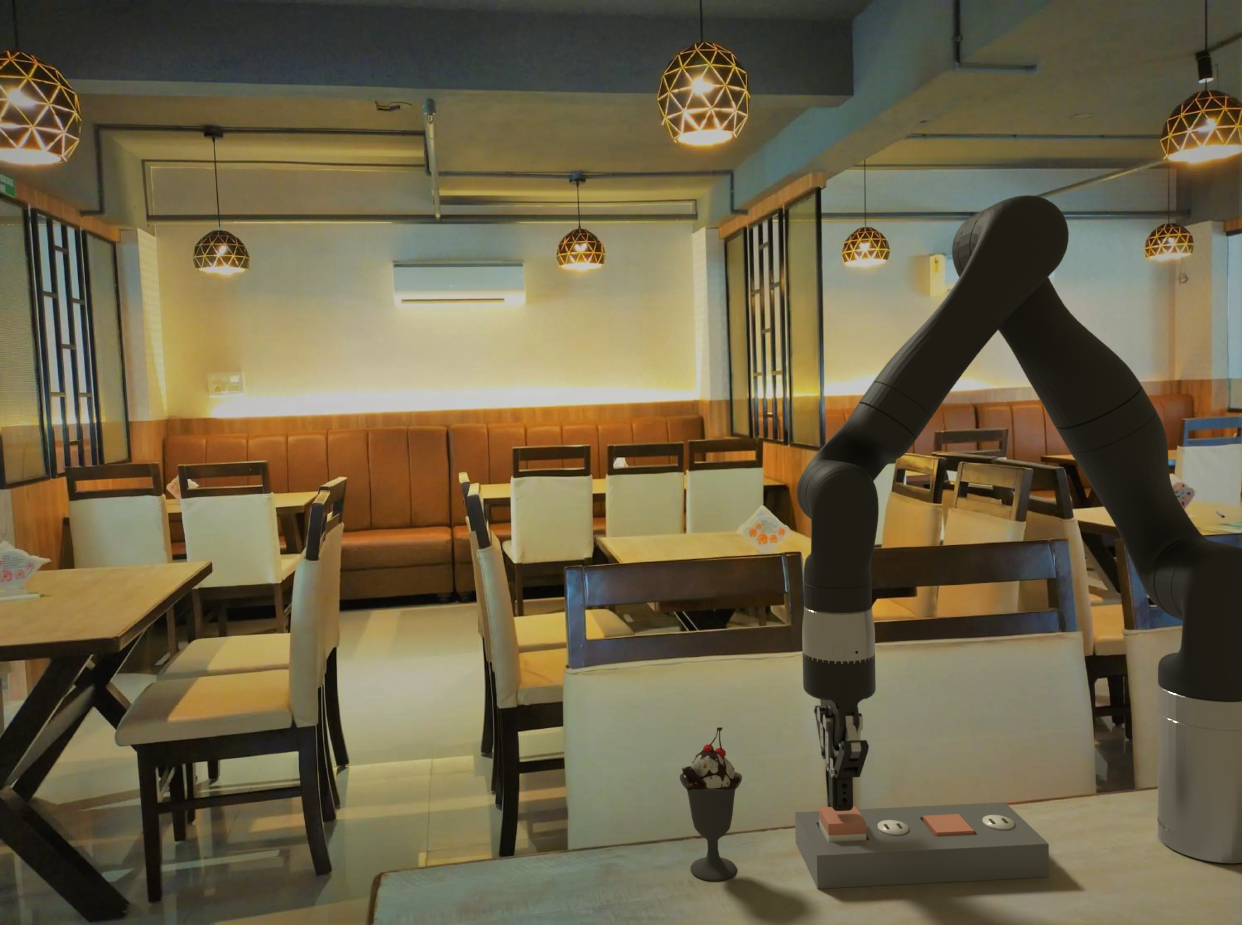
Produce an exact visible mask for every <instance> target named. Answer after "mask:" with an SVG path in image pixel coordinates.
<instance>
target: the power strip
mask: <svg viewBox="0 0 1242 925" xmlns="http://www.w3.org/2000/svg"><path fill="white" fill-rule="evenodd" d="M857 809H858V811H859V812H860V814H861V815H862V817H863V818H864V820H865V821H866V840H860V841H840V842H826V840H825V838H824V837H823V835H822V833H821V831H820V829H819V810H817V811H816V810H815V811H798V812H794V817H795V818H794V825H795V826H794V829H795V831H794V832H795V844H796V847H797V848H798V851H799V852H800V855H801V857H802V859H803V861H804V863H805V866H806V867H807V870H808V872H809V874H810V876H811V878H812V880H813V882H814V884H815V886H816V889H818V890H819V889H837V888H840V889H841V888H842V889H843V888H857V887H859V888H860V887H861V888H862V887H877V886H878V887H881V886H899V885H914V884H915V885H916V884H917V885H918V884H937V883H938V884H939V883H955V882H956V883H957V882H975V881H976V882H978V881H994V880H1011V879H1014V880H1015V879H1033V878H1049V877H1050V861H1049V860H1050V854H1049V853H1050V848H1049V846H1050V843H1048V842H1047V841H1046V840H1045V838H1043V837H1042V836H1041V835H1040V834H1039V833H1038V832H1037V831H1036V830H1035V829H1034V828H1032V826H1031V825H1030V824H1028V823H1027V821H1025V820H1024V819H1023V817H1021V816H1020V815H1019V814H1018V813H1017V812H1016V811H1015V810H1014V809H1013V808H1012V807H1010V805H1008V803H1007V802H1005V801H1004V802H1003V801H1001V802H980V803H978V802H977V803H960V804H959V803H958V804H943V805H937V804H935V805H921V806H919V805H918V806H900V807H899V806H897V807H880V808H879V807H878V808H877V807H876V808H861V809H859V808H857ZM949 814H959V815H960V816H961V817H962V818H963V819H964V820H965V821H966V822H967V823H968V825H969V826H970V827H971V828H972V829H973V830H974V835H960V836H940V837H935V836H934V835H933V834H932V832H931V831H930V830H929V829H928V827H927V826H926V825H925V824H924V823H923V816H928V815H949Z"/></svg>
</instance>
